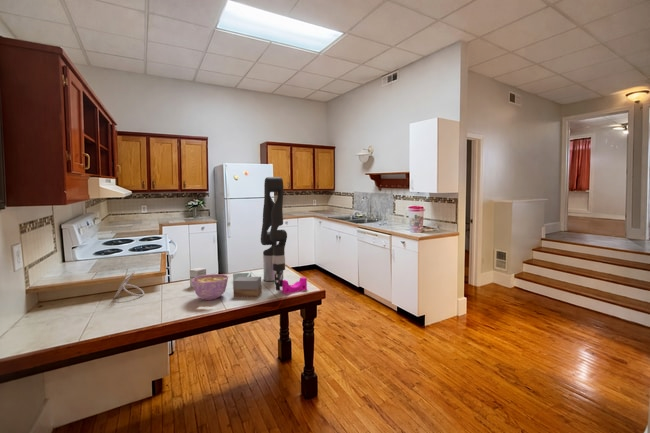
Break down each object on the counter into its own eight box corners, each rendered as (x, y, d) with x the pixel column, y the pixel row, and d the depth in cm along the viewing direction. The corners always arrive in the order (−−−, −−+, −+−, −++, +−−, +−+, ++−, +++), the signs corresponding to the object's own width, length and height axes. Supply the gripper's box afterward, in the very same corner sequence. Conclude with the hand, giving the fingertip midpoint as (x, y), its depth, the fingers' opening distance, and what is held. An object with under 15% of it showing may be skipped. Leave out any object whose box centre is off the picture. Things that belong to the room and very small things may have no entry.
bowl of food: (205, 292, 190) (205, 273, 189) (235, 293, 186) (234, 274, 185) (184, 302, 170) (183, 281, 170) (217, 304, 166) (216, 283, 166)
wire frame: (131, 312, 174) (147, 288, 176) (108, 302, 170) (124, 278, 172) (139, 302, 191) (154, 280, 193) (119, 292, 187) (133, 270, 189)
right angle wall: (233, 284, 208) (233, 273, 208) (251, 283, 209) (251, 272, 209) (229, 289, 196) (229, 277, 196) (248, 288, 197) (248, 276, 197)
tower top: (238, 284, 188) (238, 276, 188) (261, 284, 188) (261, 276, 187) (233, 289, 178) (233, 280, 178) (256, 289, 178) (256, 280, 177)
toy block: (302, 287, 198) (302, 276, 197) (306, 290, 192) (306, 278, 192) (280, 291, 190) (280, 279, 190) (284, 293, 185) (284, 281, 184)
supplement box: (189, 288, 197) (189, 269, 197) (199, 286, 204) (198, 267, 203) (197, 290, 194) (196, 270, 193) (206, 287, 200) (206, 268, 200)
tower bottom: (239, 292, 188) (239, 284, 188) (261, 292, 188) (261, 284, 187) (233, 297, 178) (233, 289, 178) (257, 297, 178) (257, 289, 177)
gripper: (275, 260, 194) (275, 285, 195) (270, 264, 180) (270, 291, 181) (287, 260, 194) (287, 285, 195) (282, 264, 180) (283, 291, 180)
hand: (279, 288), depth 188 cm, fingers open, 8 cm apart
